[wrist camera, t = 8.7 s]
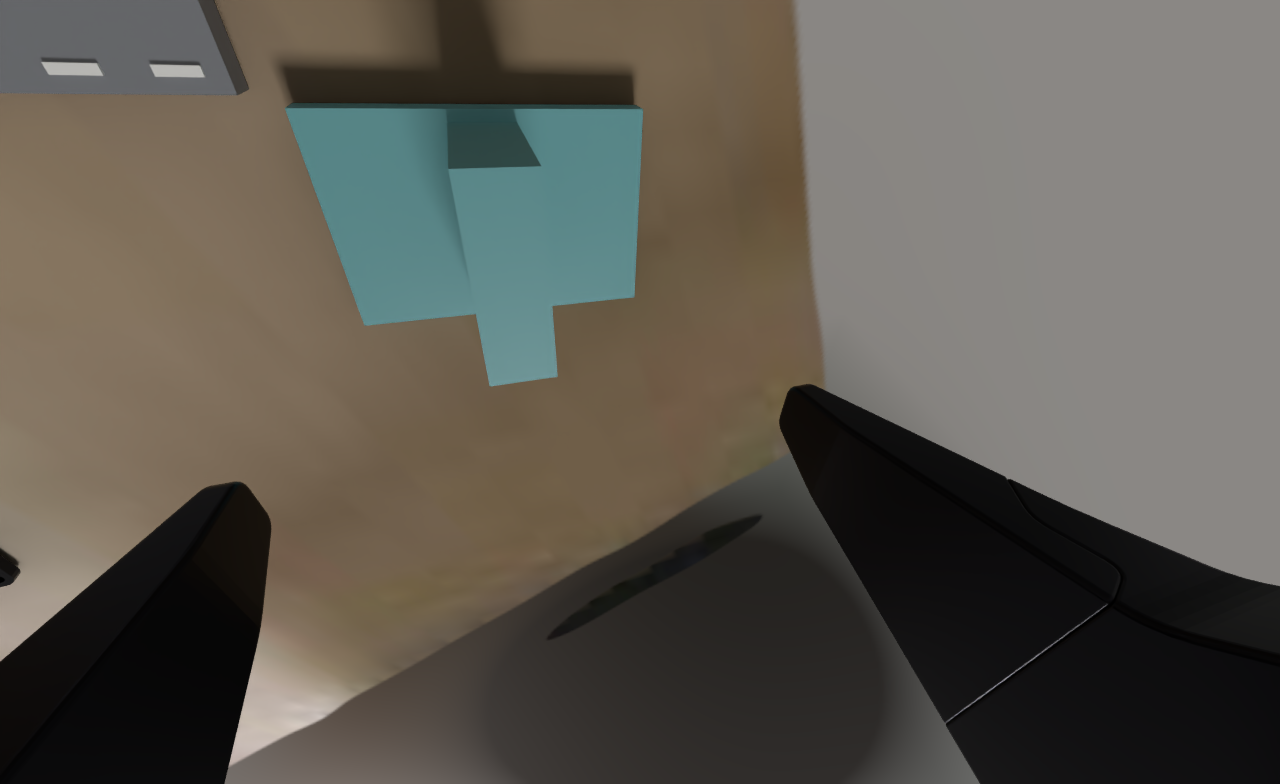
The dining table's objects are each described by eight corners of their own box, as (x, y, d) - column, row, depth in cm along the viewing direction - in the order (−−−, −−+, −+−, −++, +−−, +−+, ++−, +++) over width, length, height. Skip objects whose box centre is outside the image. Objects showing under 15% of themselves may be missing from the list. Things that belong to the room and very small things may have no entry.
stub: (367, 314, 17) (342, 417, 13) (292, 103, 13) (220, 155, 9) (628, 288, 20) (678, 367, 16) (635, 105, 16) (705, 146, 12)
